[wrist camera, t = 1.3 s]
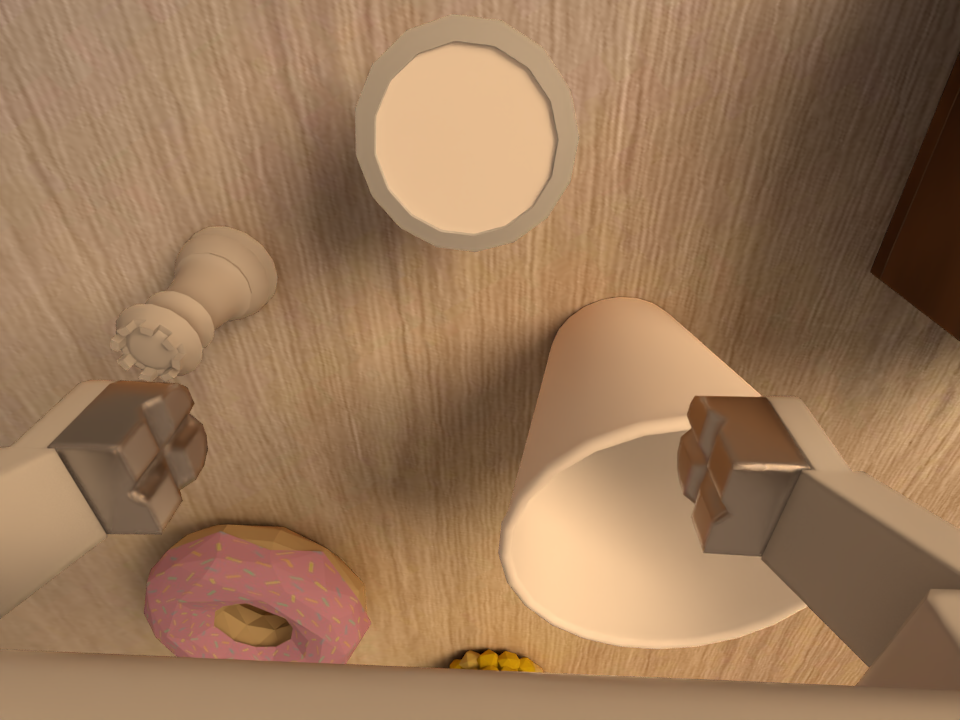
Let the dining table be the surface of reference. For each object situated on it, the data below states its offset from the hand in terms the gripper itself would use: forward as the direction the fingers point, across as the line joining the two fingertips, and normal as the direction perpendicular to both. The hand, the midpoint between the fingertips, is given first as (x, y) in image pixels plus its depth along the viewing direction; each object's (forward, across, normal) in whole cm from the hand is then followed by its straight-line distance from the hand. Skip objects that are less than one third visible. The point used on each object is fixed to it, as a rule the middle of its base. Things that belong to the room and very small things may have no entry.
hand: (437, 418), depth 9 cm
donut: (+17, +16, +31) cm, 38 cm away
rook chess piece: (+18, +12, +6) cm, 22 cm away
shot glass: (+18, 0, -2) cm, 18 cm away
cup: (+18, -7, +10) cm, 21 cm away
